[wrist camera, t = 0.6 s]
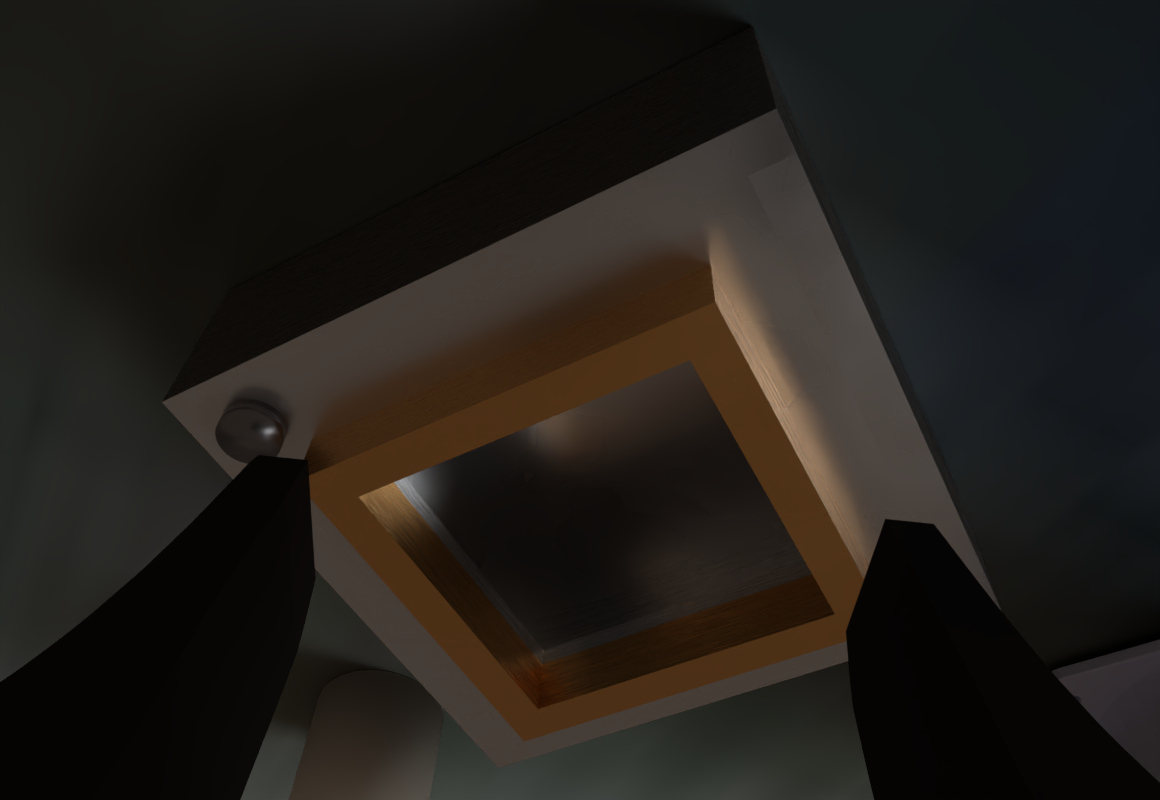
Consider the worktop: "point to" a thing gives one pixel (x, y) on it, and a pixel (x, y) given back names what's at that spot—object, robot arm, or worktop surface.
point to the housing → (591, 414)
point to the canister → (370, 740)
